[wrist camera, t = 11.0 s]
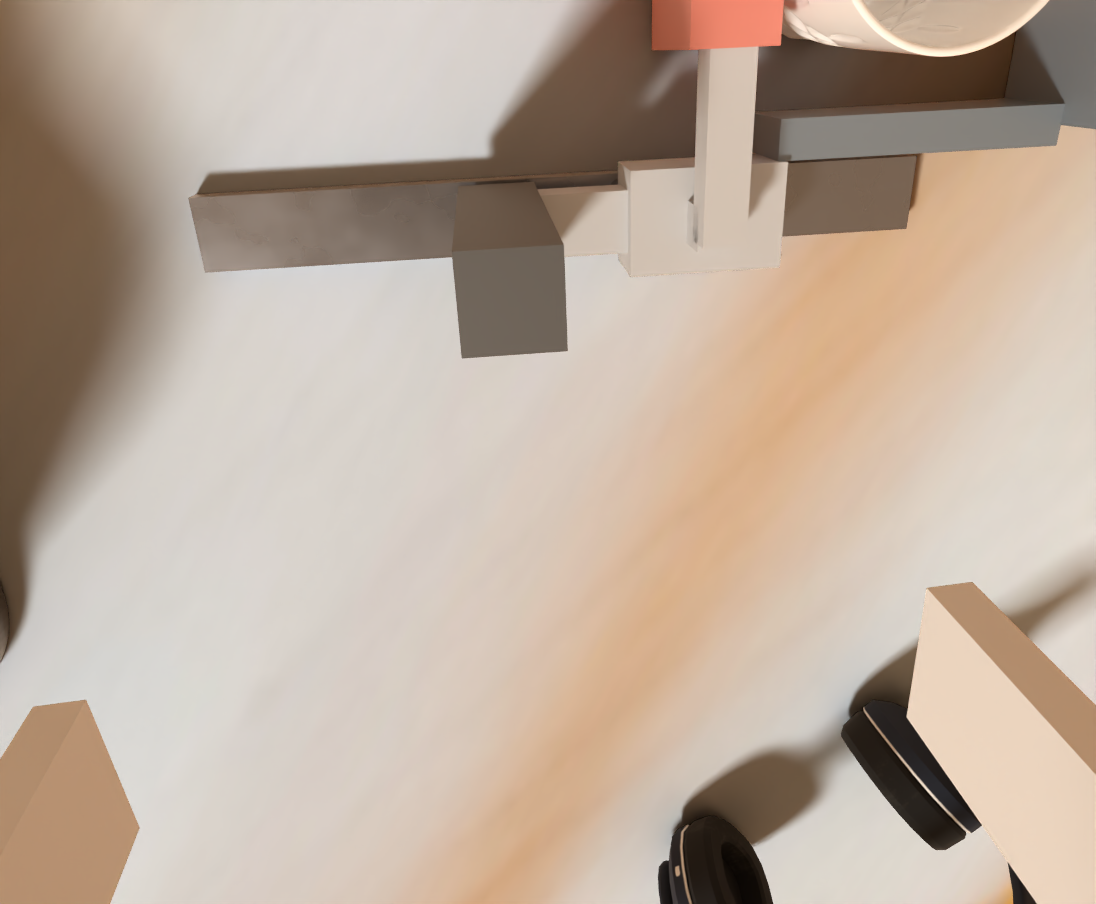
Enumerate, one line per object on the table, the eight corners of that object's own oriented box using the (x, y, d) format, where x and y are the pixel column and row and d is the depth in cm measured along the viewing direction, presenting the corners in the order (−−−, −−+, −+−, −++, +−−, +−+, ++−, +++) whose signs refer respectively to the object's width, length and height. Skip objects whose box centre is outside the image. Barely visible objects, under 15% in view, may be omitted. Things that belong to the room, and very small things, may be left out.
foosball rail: (212, 266, 35) (205, 272, 34) (195, 194, 34) (188, 197, 33) (895, 224, 37) (906, 228, 36) (905, 153, 36) (916, 156, 35)
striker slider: (466, 265, 36) (463, 374, 24) (428, -160, 29) (399, -310, 17) (750, 247, 36) (890, 344, 24) (777, -172, 30) (986, -325, 18)
